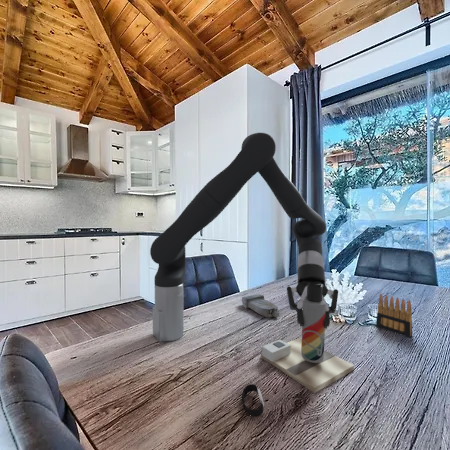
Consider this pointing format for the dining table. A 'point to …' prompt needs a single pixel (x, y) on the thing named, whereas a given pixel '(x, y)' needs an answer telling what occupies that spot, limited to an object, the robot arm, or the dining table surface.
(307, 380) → the plywood panel
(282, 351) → the block
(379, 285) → the dining table surface
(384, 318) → the ammunition clip
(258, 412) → the watch
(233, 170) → the robot arm
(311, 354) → the lotion bottle
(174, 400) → the dining table surface
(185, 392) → the dining table surface
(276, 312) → the handheld device
